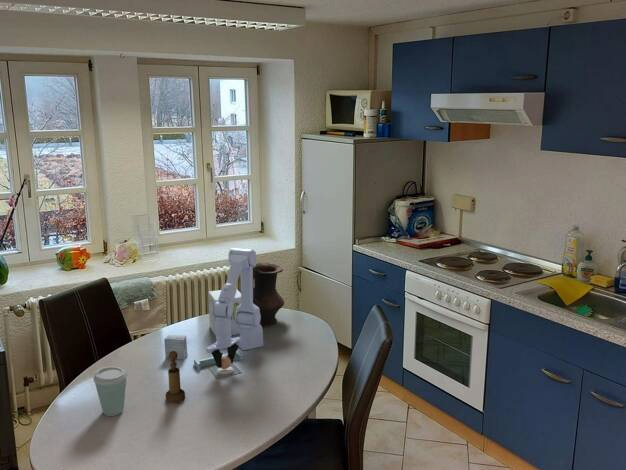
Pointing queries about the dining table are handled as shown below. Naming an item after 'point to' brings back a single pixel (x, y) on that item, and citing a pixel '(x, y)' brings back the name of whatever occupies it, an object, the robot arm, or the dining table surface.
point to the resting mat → (225, 371)
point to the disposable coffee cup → (111, 389)
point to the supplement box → (234, 327)
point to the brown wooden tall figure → (174, 382)
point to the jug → (266, 292)
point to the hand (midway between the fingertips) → (224, 364)
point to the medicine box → (176, 345)
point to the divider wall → (211, 361)
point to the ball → (225, 362)
